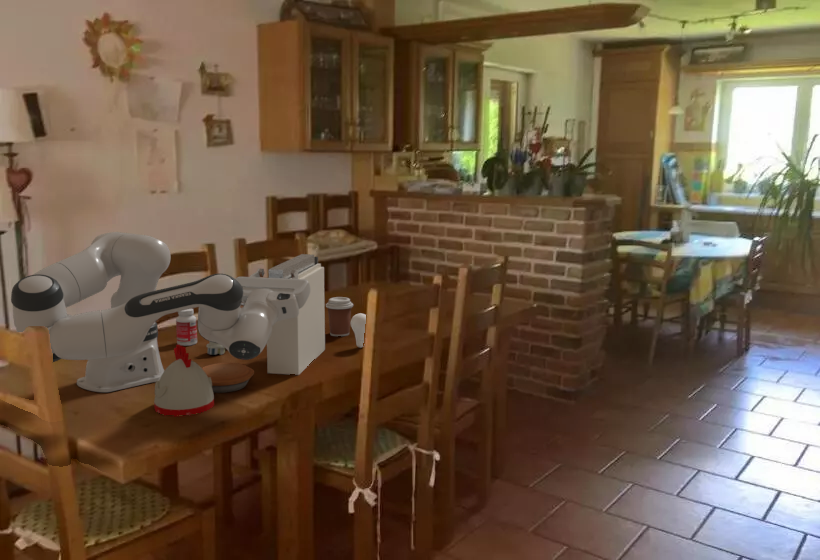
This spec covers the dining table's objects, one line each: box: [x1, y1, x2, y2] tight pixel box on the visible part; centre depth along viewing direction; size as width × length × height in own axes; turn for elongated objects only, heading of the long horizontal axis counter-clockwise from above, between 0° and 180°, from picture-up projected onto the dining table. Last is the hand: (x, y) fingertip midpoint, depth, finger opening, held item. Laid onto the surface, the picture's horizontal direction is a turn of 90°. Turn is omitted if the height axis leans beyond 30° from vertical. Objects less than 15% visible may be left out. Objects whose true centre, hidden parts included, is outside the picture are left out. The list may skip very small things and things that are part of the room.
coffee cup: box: [325, 296, 354, 337], centre depth 247 cm, size 9×9×12 cm
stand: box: [266, 256, 326, 376], centre depth 215 cm, size 27×9×29 cm, turn 170°
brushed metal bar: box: [268, 253, 315, 279], centre depth 209 cm, size 28×4×4 cm, turn 170°
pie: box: [201, 362, 255, 394], centre depth 194 cm, size 16×16×5 cm
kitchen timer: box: [153, 344, 215, 417], centre depth 178 cm, size 14×14×15 cm
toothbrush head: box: [206, 341, 226, 356], centre depth 232 cm, size 5×7×25 cm
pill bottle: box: [175, 308, 198, 347], centre depth 233 cm, size 6×6×11 cm
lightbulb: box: [350, 312, 367, 349], centre depth 231 cm, size 6×6×11 cm
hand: (278, 271), depth 196 cm, fingers open, 8 cm apart
